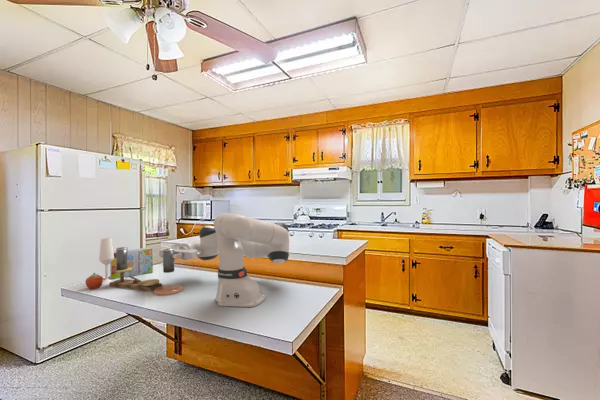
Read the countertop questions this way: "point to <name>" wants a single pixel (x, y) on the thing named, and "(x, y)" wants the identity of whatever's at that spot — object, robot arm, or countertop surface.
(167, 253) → the brushed steel peg
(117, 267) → the cylinder
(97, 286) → the tomato
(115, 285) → the balance
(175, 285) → the dish
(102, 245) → the champagne flute
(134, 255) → the snack box
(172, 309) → the countertop surface
